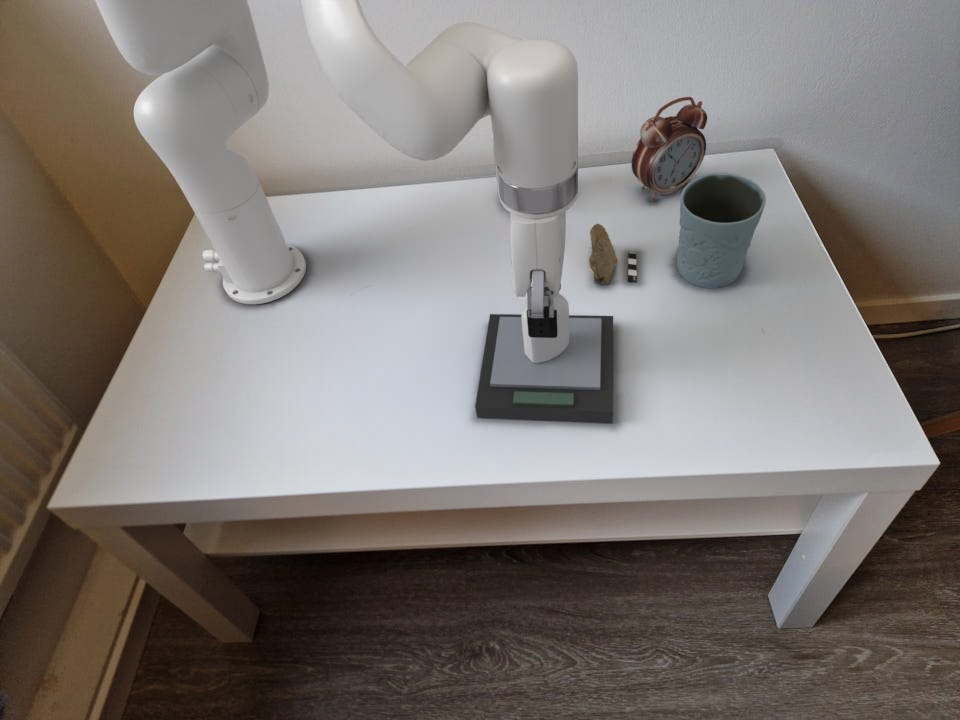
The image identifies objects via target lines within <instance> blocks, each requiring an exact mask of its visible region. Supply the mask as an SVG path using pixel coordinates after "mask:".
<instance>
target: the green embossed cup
mask: <svg viewBox="0 0 960 720" xmlns="http://www.w3.org/2000/svg"><path fill="white" fill-rule="evenodd" d="M687 183H688V184H687V185H686V186H685V185H684V188H682V191H681V193H680V204H679V212H680V213H679V214H680V215H679V226H680V229H679V233H678V234H679V235H678V245H677V251H676V269H677V271H678V274H679V275H680V276H681V278H683V280H685V281H686V282H687V283H689V284H691V285H694V286H696V287H700V288H704V289H718V288H724V287H726V286H729V285H730V284H732V283H734V282H735V281H736V280H737V279H738V278H739V276H740V274H741V272H742V269H743V267H744V264H745V261H746V258H747V254H748V251H749V248H750V246H751V242H752V240H753V237H754V234H755V231H756V229H757V227H758V225H759V223H760V220H761V217H762V215H763V213H764V210H765V207H766V202H767V199H766V193H765V191H764V190H763V188H762V187H761V186H760V185H759V184H757V183H756V182H755V181H753V180H752V179H751V178H748V177H745V176H743V175H739V174H736V173H728V172H714V173H707V174H704V175H700V176H698V177H696V178H693V179H691V180H690V181H689V182H687Z"/></svg>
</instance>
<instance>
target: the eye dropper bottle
mask: <svg viewBox="0 0 960 720" xmlns="http://www.w3.org/2000/svg"><path fill="white" fill-rule="evenodd" d="M545 287H548V286H547V285H546V283H545ZM569 305H570V304H569V301H568V300H567V299H566V298H565V296H564V295H562V294H561V293H560V292H559V293H558V295H556V296H555V297H554V310H557V331H558V333H557V337H556V338H532V337H529V335H528V324H527V309H528V304H527V305H526V306H525V308H524V309H523V311H522V312H521V315H522V330H523V341H524V351H525V354H526V356H527V357H528V358H529V359H530V360H531V361H532V362H533V363H541V362H545V361H548V360H551V359H553V358H555V357H557V356H558V355H559V354H561V353H562V352H563V351H564V350H565V349H566V348H567V346H568V345H569V315H570V306H569ZM544 306H549V296H544Z"/></svg>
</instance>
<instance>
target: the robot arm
mask: <svg viewBox="0 0 960 720" xmlns="http://www.w3.org/2000/svg"><path fill="white" fill-rule="evenodd" d="M299 1H300V5H301V9H302V15H303V20H304V24H305V28H306V32H307V35H308V39H309V42H310V44H311V47H312V49H313V51H314V54H315V57H316V58H317V61H318V62H319V65H320V67H321V69H322V71H323V74H324V75H325V77H326V79H327V80H328V82H329V84H330V86H331V87H332V89H333V90H334V92H335V93H336V94H337V96H338V97H339V98H340V99H341V100H342V101H343V102H344V104H345V105H346V106H347V107H348V108H349V109H350V110H351V111H352V112H353V113H354V114H355V115H356V116H357V117H358V118H359V119H361V121H363V123H365V124H366V125H367V126H368V127H369V128H370V129H371V130H372V131H373V132H374V133H375V134H377V135H378V136H379V137H380V138H381V139H382V140H383V141H385V142H386V144H388V145H389V146H391V147H392V148H393V149H395V150H397V151H398V152H400V153H401V154H403V155H404V156H407V157H409V158H412V159H413V160H414V159H415V160H418V161H425V162H427V161H436V160H438V159H441V158H443V157H445V156H447V155H449V153H451V152H452V151H453V150H454V149H455V148H456V147H457V146H458V145H459V144H460V143H461V142H462V141H463V140H464V138H465V137H466V136H467V135H468V133H470V131H472V129H473V128H474V127H475V126H476V124H477V123H478V122H479V121H480V120H482V119H483V118H486V117H488V116H490V121H491V130H492V139H493V140H494V149H495V158H496V167H497V175H498V184H499V193H500V200H499V202H500V203H501V206H502V207H503V208H504V209H505V210H506V212H508V213H509V234H510V235H509V236H510V257H511V274H512V292H513V294H514V296H516V297H520V298H521V297H522V298H524V297H525V296H526V302H527V305H528V309H527V324H528V335H529V337H532V338H556V337H557V333H558V331H557V310H554V297H555V296H556V295H558V293H559V294H560V291H561V289H562V275H563V269H564V268H563V267H564V259H565V250H566V226H567V210H570V208H571V207H573V205H574V204H575V202H576V201H577V199H578V197H579V196H578V195H579V71H578V64H577V59H576V57H575V55H574V54H573V52H572V51H571V50H570V48H568V47H567V45H564V44H563V43H560V42H558V41H556V40H552V39H545V38H531V39H530V38H529V39H522V38H518V37H515V36H513V35H510V34H507V33H505V32H502V31H499V30H497V29H494V28H492V27H490V26H487V25H484V24H480V23H476V22H470V21H463V22H462V21H461V22H458V23H454V24H452V25H450V26H449V27H446V28H445V29H444V30H442V31H441V32H440V33H439V34H438V35H437V36H436V37H435V38H434V39H433V40H432V41H431V42H430V43H429V44H428V45H426V46H425V47H424V48H423V49H422V50H421V51H420V52H419V53H418V54H416V55H415V56H414V57H413V58H412V59H411V60H410V61H409V62H408V63H406V65H404V64H403V63H402V62H401V61H400V60H399V59H398V58H397V57H396V56H395V55H394V54H393V53H392V52H391V51H390V50H389V48H387V46H386V45H384V43H383V42H382V41H381V40H380V38H379V37H378V36H377V35H376V32H374V30H373V29H372V27H371V25H370V23H369V22H368V20H367V18H366V16H365V13H364V12H363V10H362V6H361V4H360V1H359V0H299ZM94 2H95V4H96V6H97V9H98V10H99V13H100V15H101V17H102V19H103V22H104V24H105V26H106V28H107V30H108V32H109V34H110V36H111V39H112V41H113V43H114V44H115V46H116V48H117V50H118V52H119V53H120V54H121V55H122V58H123V59H124V60H125V61H126V62H127V64H128V65H130V66H131V67H132V68H133V69H134V70H136V71H138V72H140V73H142V74H145V75H146V76H147V75H148V76H159V77H157V78H155V79H154V80H153V81H152V82H151V83H149V84H148V85H147V86H146V87H144V89H143V90H142V91H141V92H140V94H139V95H138V97H137V98H136V100H135V102H134V107H133V118H134V124H135V126H136V128H137V130H138V132H139V133H140V134H141V137H142V138H143V139H144V140H145V142H146V143H147V145H149V146H150V148H151V149H152V151H154V152H155V154H156V155H157V156H158V158H159V159H160V160H161V162H162V163H163V164H164V165H165V167H166V168H167V169H168V171H169V172H170V174H171V175H172V176H173V178H174V180H175V181H176V183H177V185H178V186H179V189H181V191H182V193H183V195H184V197H185V198H186V200H187V202H188V203H189V205H190V207H191V209H192V211H193V213H194V214H195V217H196V218H197V220H198V222H199V223H200V225H201V227H202V229H203V231H204V233H205V234H206V237H207V238H208V240H209V242H210V243H211V245H212V247H213V249H204V250H203V251H202V260H203V262H204V265H203V269H204V271H205V273H217V272H218V273H219V274H221V275H222V286H223V289H224V291H225V292H226V294H227V295H228V297H229V298H230V299H231V300H233V301H235V302H237V303H240V304H244V305H262V304H266V303H271V302H273V301H275V300H278V299H280V298H282V297H284V296H286V295H288V294H289V293H290V292H292V291H293V290H294V289H295V288H297V286H298V285H299V284H300V282H301V281H302V280H303V278H304V276H305V274H306V270H307V262H306V260H305V257H304V255H303V253H302V251H301V250H300V249H298V248H297V247H295V246H294V245H292V244H288V243H287V242H286V239H285V238H284V235H283V232H282V230H281V228H280V226H279V224H278V221H277V219H276V217H275V214H274V212H273V210H272V207H271V205H270V203H269V200H268V198H267V196H266V194H265V192H264V189H263V187H262V185H261V183H260V180H259V178H258V176H257V173H256V171H255V169H254V168H253V166H252V164H251V162H249V160H248V159H246V158H245V157H244V156H243V155H242V154H240V153H238V152H235V151H233V150H231V149H229V147H228V146H227V140H228V139H229V138H230V137H231V136H232V135H233V134H235V132H236V131H238V130H239V129H240V128H241V127H243V126H244V125H245V124H246V123H247V122H248V121H250V120H251V119H252V118H253V117H254V116H255V115H256V114H257V113H259V112H260V111H261V110H262V109H263V108H264V106H265V104H267V102H268V99H269V94H270V84H269V77H268V72H267V69H266V64H265V60H264V57H263V53H262V49H261V46H260V43H259V42H260V41H259V38H258V34H257V32H256V27H255V24H254V20H253V16H252V12H251V9H250V6H249V3H248V0H94ZM545 283H546V285H547V286H548V287H545ZM544 296H549V306H544Z"/></svg>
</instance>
